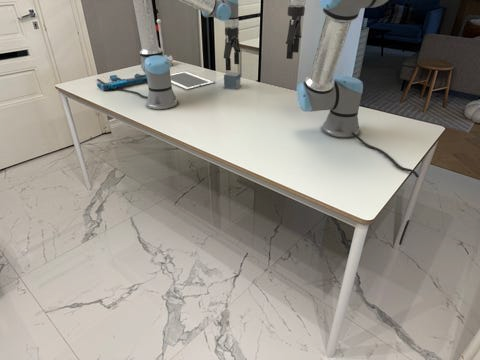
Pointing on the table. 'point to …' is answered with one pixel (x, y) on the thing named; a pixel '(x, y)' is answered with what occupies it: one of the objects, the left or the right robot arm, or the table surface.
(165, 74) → the left robot arm
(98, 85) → the submachine gun
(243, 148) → the table surface
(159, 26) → the flag stand
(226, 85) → the grey cube
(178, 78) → the tablet
